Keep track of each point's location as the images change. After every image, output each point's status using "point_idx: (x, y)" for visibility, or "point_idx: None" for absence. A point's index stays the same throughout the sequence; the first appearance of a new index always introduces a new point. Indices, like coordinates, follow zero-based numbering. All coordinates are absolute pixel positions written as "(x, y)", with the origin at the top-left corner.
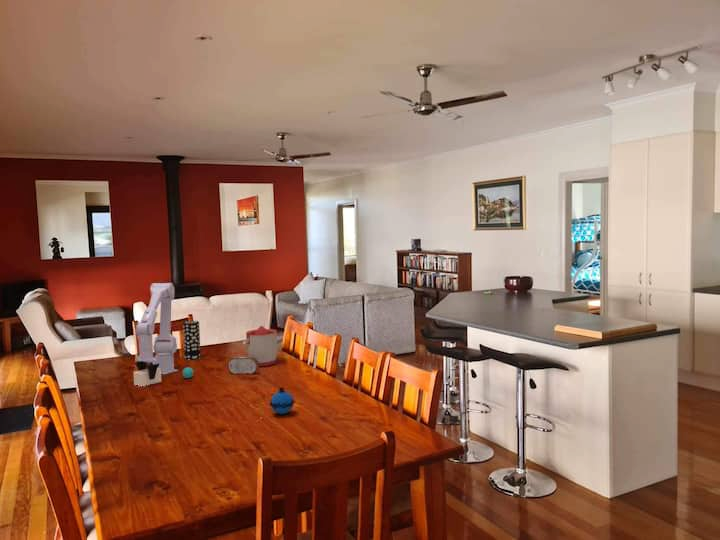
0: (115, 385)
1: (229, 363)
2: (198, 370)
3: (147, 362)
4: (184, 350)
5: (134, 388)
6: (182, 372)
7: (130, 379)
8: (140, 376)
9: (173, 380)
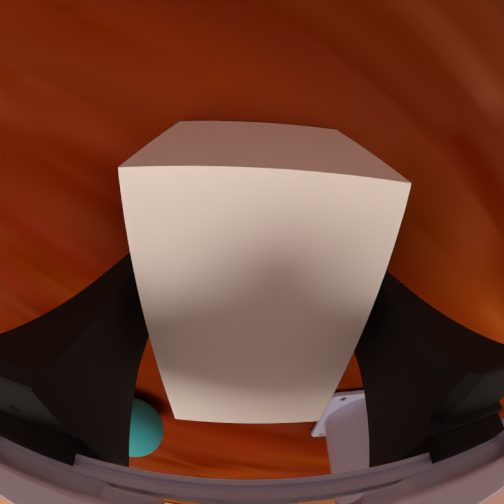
0: (482, 59)
1: None
2: (228, 452)
3: (198, 478)
4: None
5: (202, 47)
6: (138, 423)
7: (486, 238)
8: (148, 150)
9: (150, 359)
